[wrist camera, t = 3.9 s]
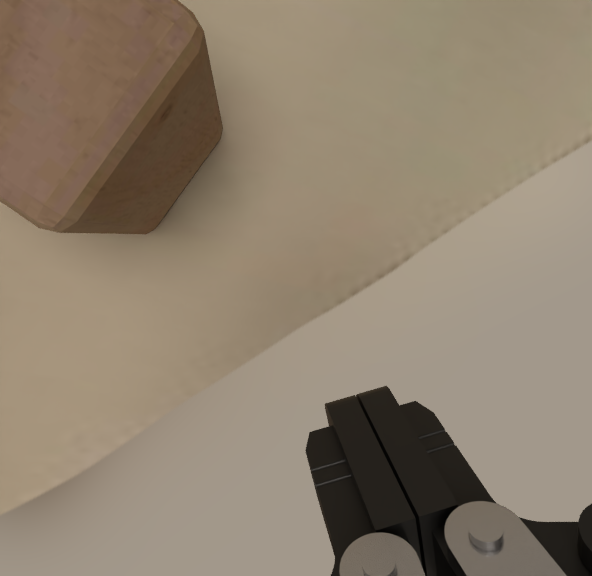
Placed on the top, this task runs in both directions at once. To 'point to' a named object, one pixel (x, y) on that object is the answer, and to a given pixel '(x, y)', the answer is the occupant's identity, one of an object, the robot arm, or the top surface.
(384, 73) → the top surface
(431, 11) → the top surface
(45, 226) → the wooden block
